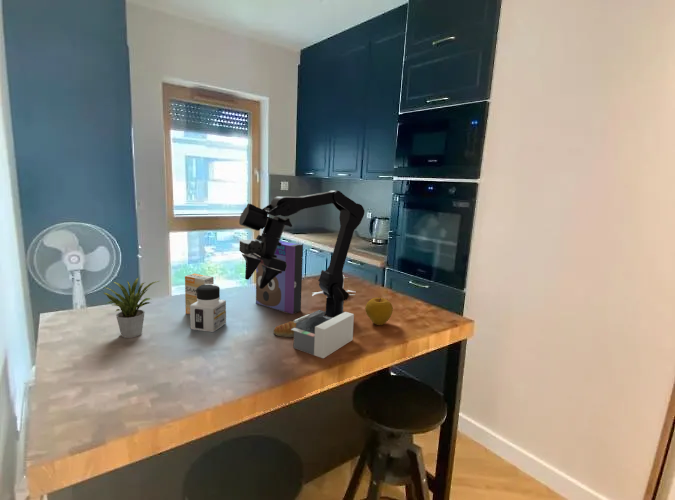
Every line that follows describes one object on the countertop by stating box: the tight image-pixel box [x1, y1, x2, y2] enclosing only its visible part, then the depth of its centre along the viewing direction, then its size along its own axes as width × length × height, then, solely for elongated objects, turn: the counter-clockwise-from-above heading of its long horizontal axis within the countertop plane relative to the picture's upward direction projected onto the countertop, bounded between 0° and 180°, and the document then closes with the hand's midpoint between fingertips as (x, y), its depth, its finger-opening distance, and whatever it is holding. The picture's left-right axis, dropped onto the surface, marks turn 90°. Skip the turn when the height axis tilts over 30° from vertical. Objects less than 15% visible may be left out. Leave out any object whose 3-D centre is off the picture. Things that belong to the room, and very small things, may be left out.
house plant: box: [103, 277, 160, 339], centre depth 107 cm, size 14×14×16 cm
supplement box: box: [184, 273, 215, 315], centre depth 124 cm, size 8×5×13 cm, turn 68°
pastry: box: [273, 320, 296, 338], centre depth 112 cm, size 9×7×4 cm
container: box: [189, 284, 227, 333], centre depth 114 cm, size 8×8×13 cm
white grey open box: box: [291, 311, 355, 359], centre depth 106 cm, size 15×11×8 cm
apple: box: [364, 297, 394, 326], centre depth 123 cm, size 9×9×9 cm
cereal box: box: [255, 240, 304, 315], centre depth 133 cm, size 17×5×24 cm, turn 56°
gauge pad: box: [293, 309, 325, 334], centre depth 108 cm, size 13×2×8 cm, turn 147°
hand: (253, 283), depth 114 cm, fingers open, 9 cm apart
